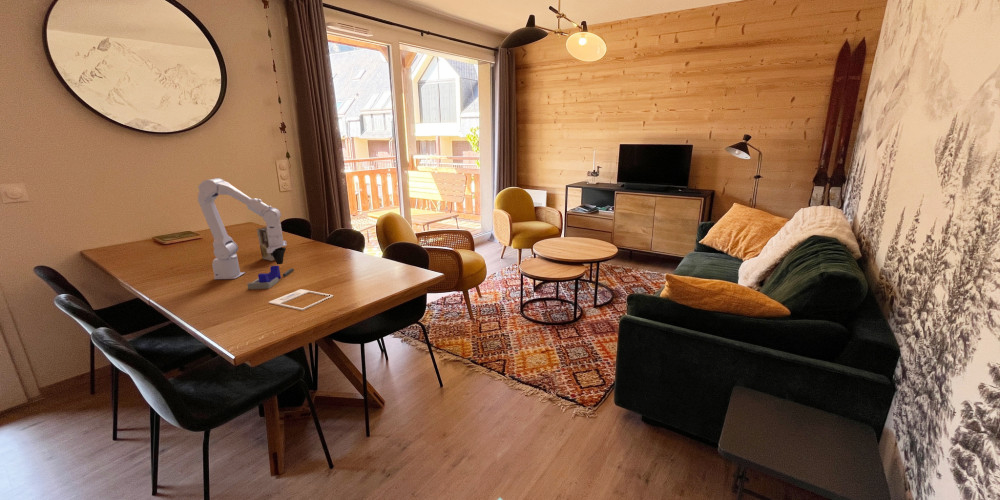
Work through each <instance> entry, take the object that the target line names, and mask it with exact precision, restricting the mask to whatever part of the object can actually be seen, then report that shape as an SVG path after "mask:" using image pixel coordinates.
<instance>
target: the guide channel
mask: <svg viewBox="0 0 1000 500" xmlns="http://www.w3.org/2000/svg"><path fill="white" fill-rule="evenodd" d="M293 272H294V268H290V269H287V270H286V271H285V272H283V273H282V277H288V276H289V275H290V274H291V273H293Z"/></svg>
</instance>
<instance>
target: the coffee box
mask: <svg viewBox="0 0 1000 500" xmlns="http://www.w3.org/2000/svg"><path fill="white" fill-rule="evenodd" d="M256 232H257V238H258V244H259V249H260V253H261V258H262V259H263V260H267V261H271V262H272V261H273V262H274V261H275V259H274V257H273V256H272V254H271V253H267V248H268V247H269V245H270V244H269V238H268V232H267V226H266V227H261V228H260V227H259V228H257V229H256Z"/></svg>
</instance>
